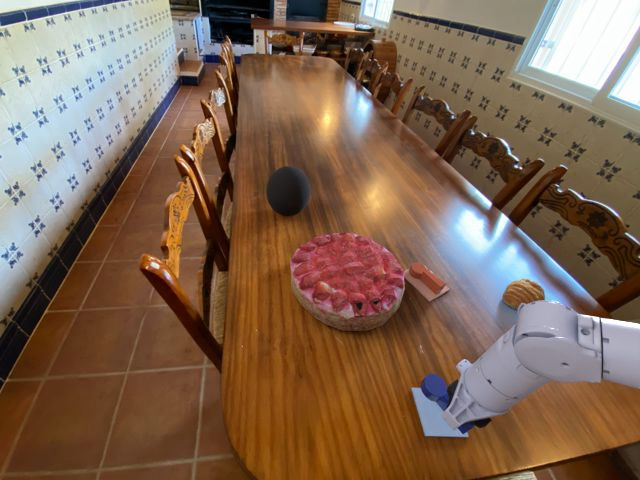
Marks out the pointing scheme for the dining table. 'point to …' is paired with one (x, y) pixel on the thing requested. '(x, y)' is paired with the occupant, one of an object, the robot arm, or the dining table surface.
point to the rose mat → (423, 287)
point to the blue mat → (433, 417)
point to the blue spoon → (439, 395)
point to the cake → (347, 281)
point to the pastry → (522, 293)
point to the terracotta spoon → (426, 277)
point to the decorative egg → (288, 191)
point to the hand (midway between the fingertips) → (457, 411)
